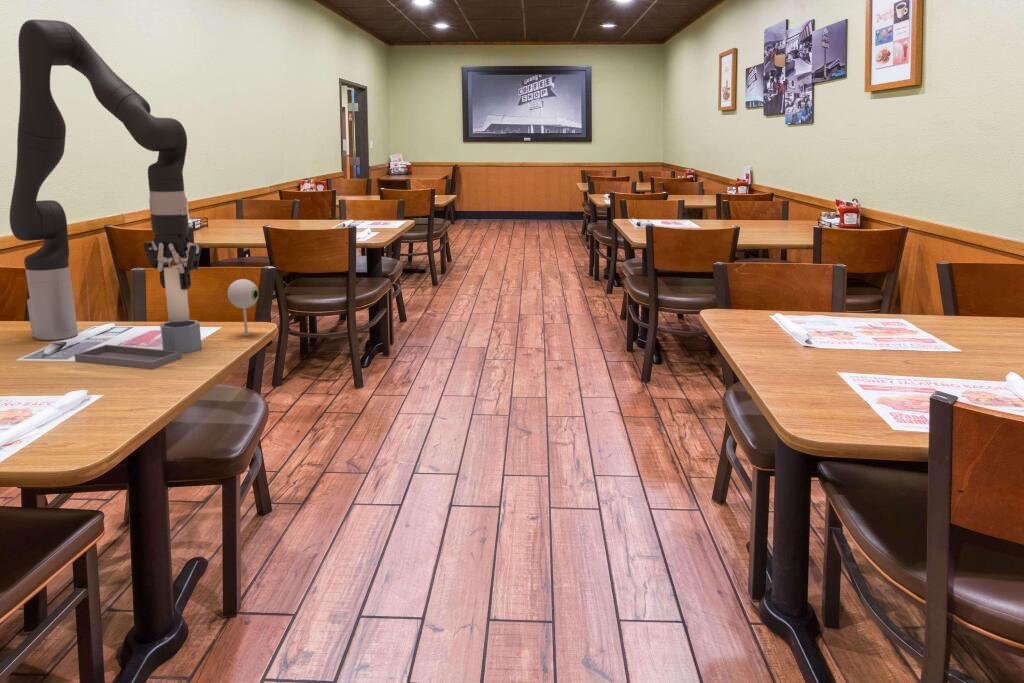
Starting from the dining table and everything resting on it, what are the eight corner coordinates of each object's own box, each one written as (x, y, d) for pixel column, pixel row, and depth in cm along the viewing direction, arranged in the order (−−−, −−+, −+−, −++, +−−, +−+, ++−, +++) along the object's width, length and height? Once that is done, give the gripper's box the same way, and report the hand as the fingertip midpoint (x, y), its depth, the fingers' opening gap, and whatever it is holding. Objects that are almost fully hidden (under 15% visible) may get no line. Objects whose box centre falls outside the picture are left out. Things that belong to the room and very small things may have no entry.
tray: (75, 365, 167) (74, 354, 167) (107, 355, 176) (106, 344, 175) (153, 373, 162) (151, 362, 162) (182, 362, 171) (180, 351, 170)
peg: (164, 320, 175) (159, 268, 172) (177, 316, 179) (172, 265, 176) (180, 322, 174) (175, 269, 170) (193, 318, 178) (189, 266, 175)
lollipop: (252, 343, 187) (247, 282, 183) (225, 341, 189) (220, 281, 185) (267, 336, 194) (262, 277, 190) (241, 334, 195) (236, 276, 192)
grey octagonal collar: (155, 356, 175) (152, 326, 174) (179, 347, 183) (176, 318, 181) (185, 359, 173) (182, 328, 171) (208, 350, 181) (206, 321, 179)
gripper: (129, 211, 168) (137, 289, 173) (185, 214, 165) (192, 293, 169) (153, 209, 175) (161, 283, 180) (207, 211, 172) (214, 287, 176)
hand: (176, 288), depth 174 cm, fingers closed on peg, 4 cm apart
